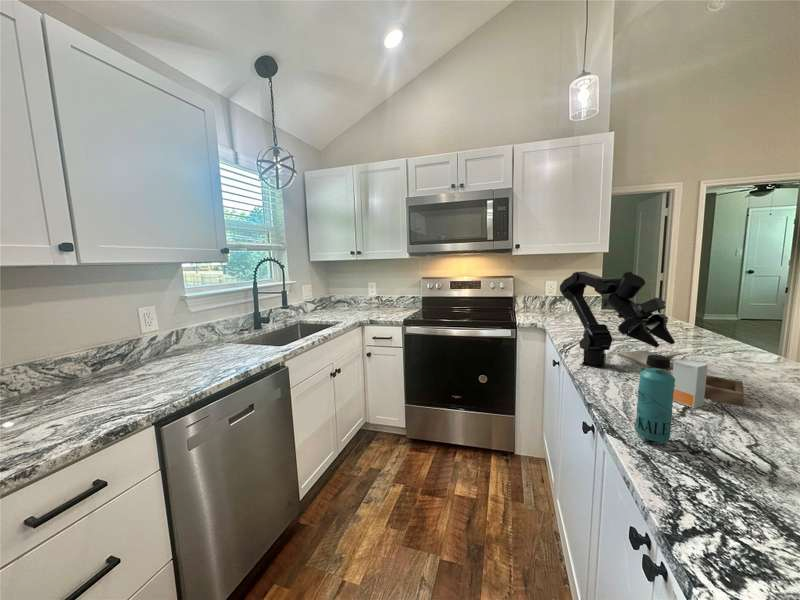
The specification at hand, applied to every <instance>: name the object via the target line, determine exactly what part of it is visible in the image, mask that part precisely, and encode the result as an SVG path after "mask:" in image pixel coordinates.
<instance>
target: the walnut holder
mask: <svg viewBox="0 0 800 600" xmlns="http://www.w3.org/2000/svg"><path fill="white" fill-rule="evenodd" d="M743 382H744V381H743V380H737V379H733V378H726V377H718V376H715V375H714V376H713V375H707V376H706V385H705V395H704V398H706V399H705V400H708V399H710V401H713V400H714V401H715V402H719V403H723V404H728V405H733V406H738V407H743V406H744V398H745V393H744V384H743Z"/></svg>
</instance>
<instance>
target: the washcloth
mask: <svg viewBox="0 0 800 600" xmlns="http://www.w3.org/2000/svg"><path fill="white" fill-rule="evenodd" d="M648 355H660V354H658V353H656V352H653V351H649V350H647V349H646V350H645V349H642V350H640V349H638V350H633V351H629V350H628V351H626V350H625V351H618V352H617V353H616V356H617V357H619V358H622V359H623V358H624V360H626V361H627V362H631V363H633V364H635V365H638V366H639V367H641V368H644V369H647V368H654V367H651V366H648V365H647V364H646V361H647V357H648ZM674 361H675V360H672V359H670V368H668V369H667V370H673V364H674ZM656 369H661V368H656ZM662 370H665V369H662Z"/></svg>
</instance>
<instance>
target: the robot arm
mask: <svg viewBox="0 0 800 600" xmlns="http://www.w3.org/2000/svg"><path fill="white" fill-rule="evenodd" d="M645 285H646V281H645V279H644V278H643V277H641V276H639V275H637V274H634V273H633V272H632V271H625V272H624V273H623V275H622V277H621V278H620V277H602V276H599V275H596V274H592V273H591V272H590V273H589V272H587V271H575V272H573V273H572V274H571V275H570V276H569V277H567V278H565V279H564V280H563V281H562V282H561V284H559V291H560V293H561V295H562V296H563V297H564V299H566V300H568V301H570V303H571V304H572V306H573V308H574V310H575V313H576V314H577V316H578V318H579V320H580V322H581V324H582V327H583V328H584V331H583V333H582V334H583V335H582V338H581V340H580V341H579V348H580V349H582V350H583V360H582V363H581V365H582V366H588V367H593V368H597V369H602V368H603V367H604V366H605V365H606V364H607V363H606V362H607V353H606V351H609V350H610V348H611V345H612V342H613V337H612V334H611V333H612V332H611V331H610V330H609V328H608V326H607V324H605V323H599V322H598V320H597V319H596V317H595V316H594V314H593V312H592V310H591V308H590V306H589V304H588V303H587V301H586V298H585V297H584V292H585V289H586V287H587V286H589V287H590V288H594V291H595V292H596V293H597V294H599V295H601V296H602V295H603V296H605V295H608V297H606V298H604V299H603V308H606V307H609V306H610V307H611V308H612V309H613V310H614V311H615V312H616V313H617V314H618V315H617V317H618V318H619V319H623V321H622V322H621V323H620V324H619V325H618V326H617V330H618V332H619V333H620V334H621V335H622V336H624V335H625V336H626V337H630V338H632V339H634V340H637V341H640V342H642V343H645V344H647V345H649V346H651V347H654V348H658V347H660V344H659V342H658V341H657V340H656V339H655V337H657V338H658V339H659V340H663V341H664V342H665V343H668V344H670V345H674V344H675V343H676V341H675V339H674V338H673V336H672V334H671V333H670V331H669V330H668V328H667V323H668V322H669V317H668V316H667V315H665V314H664V313H654V312H657V311H659V310H664V309H666V305H665V304H666V301H665V300H663V299H662V298H659V297H654V298H652V299H650V300H648V301H645V302H643V303H640V302H639V303H637V302H635V301H634V300H632V299H633V298H635V297H636V296H637V295H638V294H639V292H640V291H641V290H642V288H643V287H644V286H645ZM654 336H655V337H654Z"/></svg>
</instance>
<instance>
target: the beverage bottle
mask: <svg viewBox="0 0 800 600" xmlns="http://www.w3.org/2000/svg"><path fill="white" fill-rule="evenodd" d="M670 360H671V359H670V358H669V357H668V356H665V355H661V354H659V355H648V357H647V361H646V364H647V365H648V366H651V367H654V368H647V369H646V368H644V369H643V370H642V371H640V372H639V381H638V382H639V383H638V389H637V402H636V403H637V405H636V416H635V423H634V426H635V432H636V434H637V435H639V437H641V438H643V439H645V440H649V441H652V442H657V443H665V442H668V441H669V440H670V439H671V433H672V427H673V425H672V422H673V404H674V403H673V402H674V401H673V394H674V384H675V378H674V377H673V376H672V375H673V374H672V373H670V372H669V371H668V370H669V369H668V368H670ZM656 368H661V369H656ZM662 369H664V370H662Z"/></svg>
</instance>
